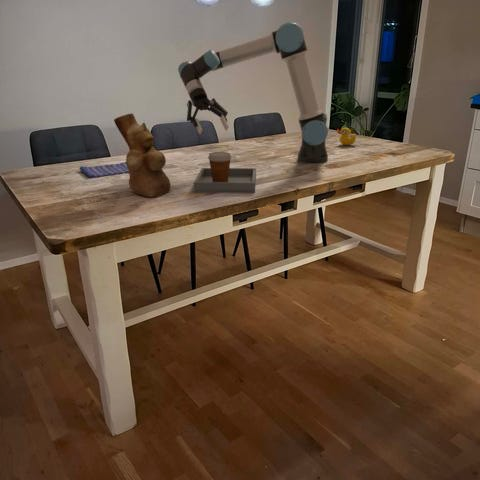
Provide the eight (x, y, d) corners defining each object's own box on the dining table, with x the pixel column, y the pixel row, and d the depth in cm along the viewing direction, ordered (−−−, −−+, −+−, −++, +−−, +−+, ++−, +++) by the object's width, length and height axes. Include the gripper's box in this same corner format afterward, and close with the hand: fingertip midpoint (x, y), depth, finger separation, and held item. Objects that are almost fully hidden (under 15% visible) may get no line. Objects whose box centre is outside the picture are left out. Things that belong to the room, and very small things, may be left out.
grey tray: (256, 177, 202) (256, 168, 200) (254, 192, 180) (254, 183, 178) (202, 176, 203) (201, 167, 202) (194, 192, 181) (193, 182, 179)
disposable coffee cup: (204, 184, 188) (203, 155, 183) (215, 178, 196) (214, 150, 191) (225, 186, 184) (225, 157, 180) (235, 181, 192) (235, 152, 188)
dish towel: (78, 171, 215) (78, 165, 214) (127, 165, 226) (127, 159, 225) (88, 180, 202) (87, 173, 200) (139, 172, 213) (139, 166, 212)
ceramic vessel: (152, 200, 171) (145, 118, 160) (111, 192, 182) (101, 114, 171) (178, 190, 184) (174, 113, 172) (138, 182, 195) (131, 110, 183)
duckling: (334, 144, 268) (335, 127, 264) (337, 143, 272) (338, 126, 268) (353, 146, 263) (355, 128, 259) (356, 144, 267) (357, 127, 263)
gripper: (217, 95, 219) (234, 132, 214) (169, 100, 207) (187, 138, 201) (222, 85, 213) (240, 122, 207) (174, 88, 200) (191, 128, 195)
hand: (214, 130), depth 204 cm, fingers open, 13 cm apart
